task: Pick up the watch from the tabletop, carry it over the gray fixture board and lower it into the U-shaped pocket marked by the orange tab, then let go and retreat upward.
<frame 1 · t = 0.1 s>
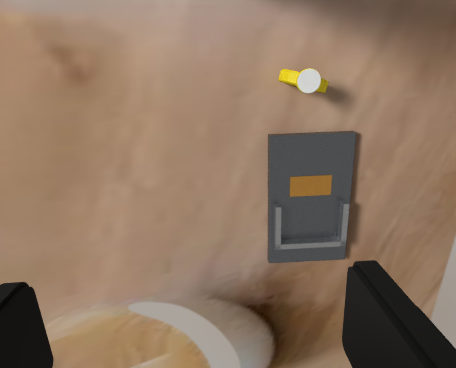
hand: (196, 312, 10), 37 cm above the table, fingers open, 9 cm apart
gray fixture board: (307, 198, 48), on the table
watch: (297, 81, 43), on the table
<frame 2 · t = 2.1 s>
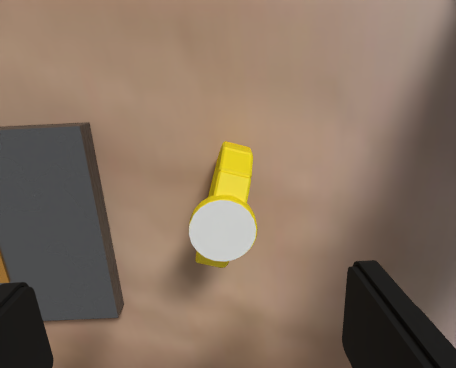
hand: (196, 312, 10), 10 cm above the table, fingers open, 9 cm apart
watch: (223, 184, 19), on the table
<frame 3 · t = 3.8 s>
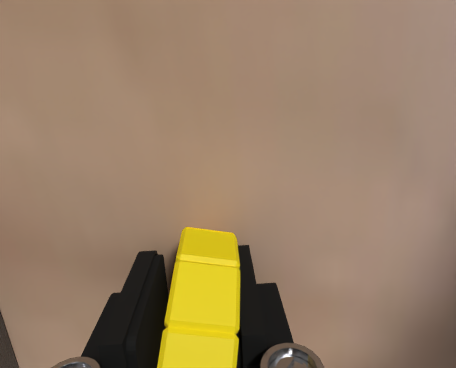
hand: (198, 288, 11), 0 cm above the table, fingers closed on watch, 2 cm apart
watch: (199, 278, 11), on the table, touching gripper
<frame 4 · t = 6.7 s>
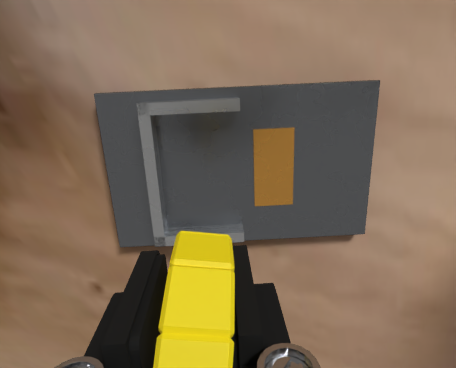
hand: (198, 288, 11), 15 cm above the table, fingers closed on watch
gray fixture board: (239, 165, 25), on the table
watch: (199, 280, 11), point 15 cm above the table, touching gripper
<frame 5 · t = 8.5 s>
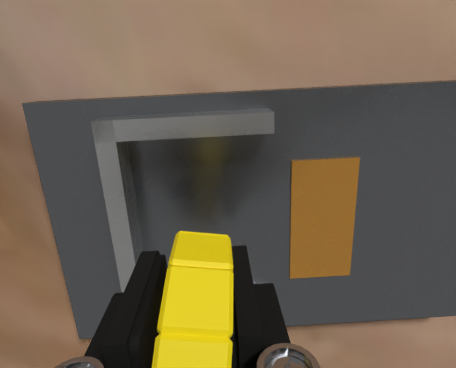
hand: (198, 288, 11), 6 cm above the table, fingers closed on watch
gray fixture board: (265, 213, 16), on the table
watch: (198, 280, 11), point 5 cm above the table, touching gripper
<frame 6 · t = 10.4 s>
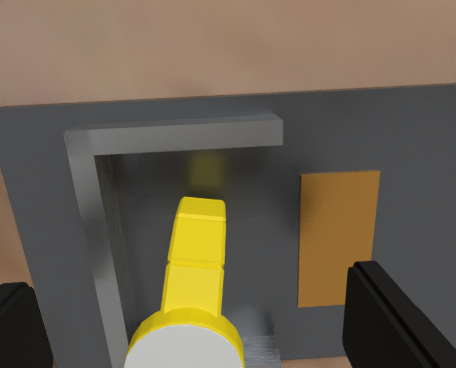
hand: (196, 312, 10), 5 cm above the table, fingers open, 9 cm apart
gray fixture board: (270, 233, 14), on the table
watch: (199, 247, 13), point 1 cm above the table, touching gray fixture board
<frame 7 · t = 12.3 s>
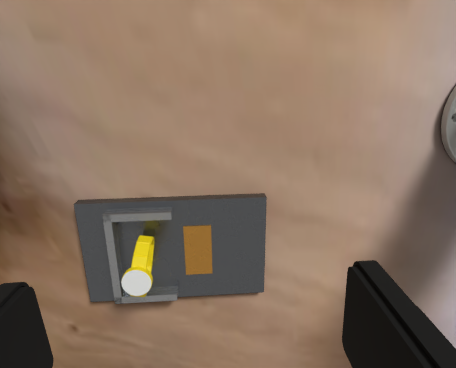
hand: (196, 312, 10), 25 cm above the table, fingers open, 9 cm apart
gray fixture board: (176, 246, 36), on the table
watch: (147, 251, 35), point 1 cm above the table, touching gray fixture board
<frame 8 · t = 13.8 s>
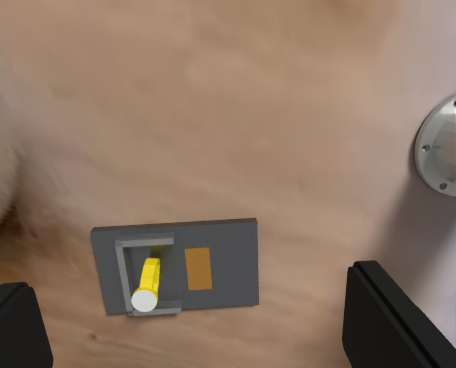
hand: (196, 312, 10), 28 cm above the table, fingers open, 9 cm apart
gray fixture board: (179, 264, 41), on the table
watch: (154, 270, 40), point 1 cm above the table, touching gray fixture board
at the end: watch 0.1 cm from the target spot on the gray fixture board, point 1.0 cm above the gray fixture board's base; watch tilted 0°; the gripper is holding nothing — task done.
